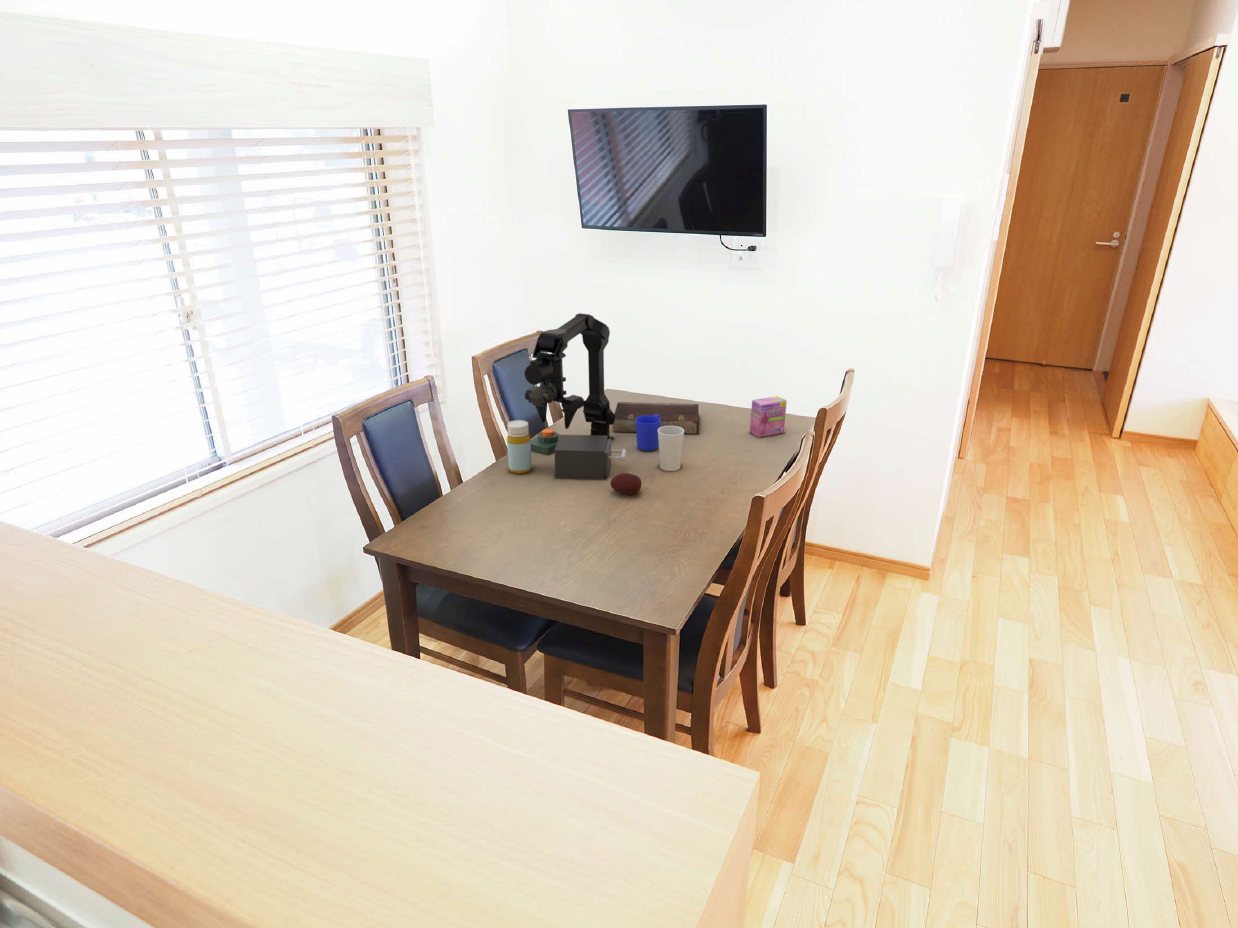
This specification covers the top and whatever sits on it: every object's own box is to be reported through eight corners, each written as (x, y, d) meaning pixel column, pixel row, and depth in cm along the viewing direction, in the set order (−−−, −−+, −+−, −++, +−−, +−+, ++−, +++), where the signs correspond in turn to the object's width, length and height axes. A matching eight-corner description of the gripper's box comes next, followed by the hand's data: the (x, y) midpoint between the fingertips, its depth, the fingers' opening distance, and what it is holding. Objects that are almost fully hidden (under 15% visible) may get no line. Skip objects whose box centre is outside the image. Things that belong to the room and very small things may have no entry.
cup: (675, 474, 236) (676, 437, 231) (652, 468, 240) (652, 431, 235) (687, 465, 242) (688, 428, 238) (664, 459, 246) (665, 423, 242)
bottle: (528, 475, 236) (525, 428, 230) (505, 473, 237) (502, 427, 231) (534, 466, 242) (532, 420, 236) (513, 464, 243) (510, 419, 237)
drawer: (626, 461, 243) (626, 439, 240) (624, 476, 233) (624, 453, 230) (568, 460, 244) (567, 438, 241) (563, 475, 234) (562, 452, 231)
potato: (634, 501, 219) (634, 481, 217) (606, 495, 223) (606, 475, 221) (646, 490, 226) (646, 471, 223) (618, 485, 229) (618, 466, 227)
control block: (549, 437, 264) (548, 426, 263) (570, 442, 260) (570, 431, 258) (526, 448, 255) (525, 437, 254) (547, 454, 251) (547, 443, 249)
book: (697, 415, 283) (698, 402, 281) (698, 434, 266) (698, 420, 264) (617, 413, 286) (617, 400, 284) (613, 432, 268) (613, 418, 267)
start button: (547, 432, 258) (547, 427, 258) (555, 435, 256) (555, 430, 256) (540, 436, 256) (540, 431, 255) (548, 438, 254) (548, 433, 253)
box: (758, 438, 263) (761, 404, 258) (749, 432, 268) (751, 399, 263) (784, 433, 267) (787, 400, 262) (774, 427, 272) (777, 395, 267)
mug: (668, 441, 260) (669, 413, 256) (654, 454, 250) (655, 425, 246) (645, 438, 263) (646, 410, 260) (631, 450, 253) (631, 421, 249)
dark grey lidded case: (607, 462, 244) (607, 435, 241) (604, 479, 233) (604, 451, 229) (561, 461, 245) (560, 434, 242) (555, 478, 234) (554, 450, 230)
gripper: (510, 376, 228) (513, 426, 234) (559, 388, 218) (561, 440, 224) (536, 367, 236) (538, 416, 242) (584, 378, 226) (586, 428, 232)
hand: (555, 425), depth 235 cm, fingers open, 9 cm apart
